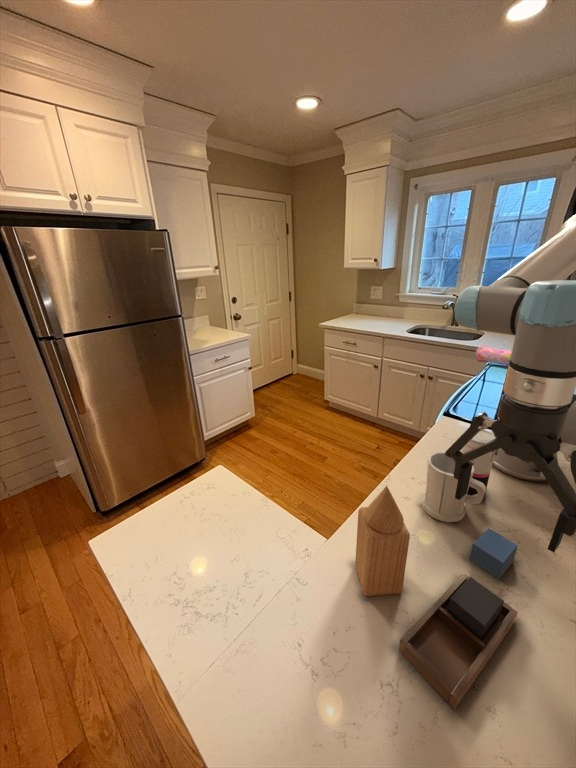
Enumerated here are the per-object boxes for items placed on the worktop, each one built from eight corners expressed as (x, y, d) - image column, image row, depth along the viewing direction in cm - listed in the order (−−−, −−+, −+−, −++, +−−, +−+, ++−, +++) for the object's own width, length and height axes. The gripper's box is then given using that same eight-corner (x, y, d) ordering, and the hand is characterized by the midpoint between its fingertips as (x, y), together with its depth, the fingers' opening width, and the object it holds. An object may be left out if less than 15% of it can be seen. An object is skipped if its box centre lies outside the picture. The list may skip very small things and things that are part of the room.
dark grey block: (465, 593, 53) (470, 575, 51) (498, 618, 49) (504, 600, 48) (446, 615, 50) (449, 597, 48) (479, 644, 46) (484, 626, 44)
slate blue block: (484, 543, 62) (488, 527, 61) (513, 561, 58) (518, 545, 57) (468, 559, 59) (472, 543, 58) (498, 579, 55) (503, 563, 54)
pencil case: (527, 366, 157) (530, 348, 154) (520, 371, 152) (524, 353, 149) (480, 359, 173) (482, 342, 170) (472, 363, 168) (475, 346, 165)
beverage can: (462, 500, 73) (473, 443, 68) (448, 481, 80) (458, 428, 74) (490, 499, 73) (504, 443, 68) (475, 481, 79) (487, 428, 74)
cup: (459, 494, 75) (468, 450, 71) (481, 523, 67) (492, 476, 62) (414, 495, 75) (420, 451, 71) (431, 525, 67) (438, 477, 63)
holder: (461, 581, 55) (463, 572, 54) (515, 621, 49) (518, 611, 48) (398, 649, 46) (399, 640, 45) (454, 710, 40) (457, 700, 39)
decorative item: (364, 598, 53) (371, 501, 46) (354, 562, 59) (359, 473, 52) (403, 595, 53) (417, 498, 46) (389, 560, 59) (399, 470, 52)
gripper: (434, 380, 52) (419, 487, 59) (663, 446, 32) (598, 591, 40) (458, 370, 56) (441, 472, 63) (675, 423, 37) (613, 559, 44)
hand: (502, 518), depth 52 cm, fingers open, 13 cm apart
